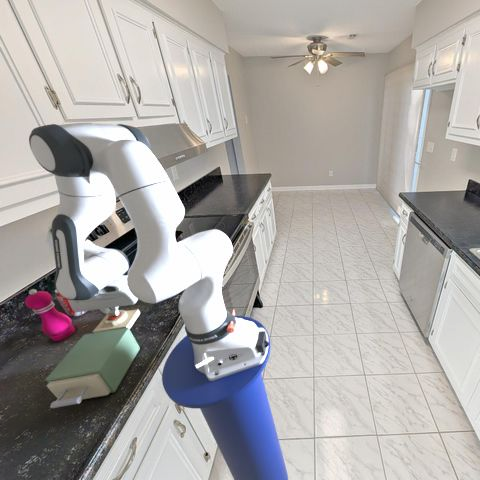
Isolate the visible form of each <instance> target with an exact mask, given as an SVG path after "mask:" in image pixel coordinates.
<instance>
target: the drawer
mask: <svg viewBox="0 0 480 480" xmlns="http://www.w3.org/2000/svg"><path fill="white" fill-rule="evenodd" d="M46 388H47V389H48V390H49V391H50V392H51V393H52V395H54V396H55V397H56V400H54V401H53V400H52V402H51V403H50V407H49V408H50V409H57V408H63V407H68V406H74V405H79V404H80V403H82V401H83V400H87V399H92V398H93V399H94V398H99V397H104V396H108V395H110V394H111V393H110V391H111V390H110V389H109V387H108V386H107V385H106V383H105V382H104V380H103V379H102V378H101V376H100V375H99V374H98V373H95V374H90V375H84V376H78V377H72V378H66V379H61V380H56V381H50V382H49V383H48V382H47V384H46Z"/></svg>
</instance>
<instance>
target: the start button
mask: <svg viewBox="0 0 480 480" xmlns="http://www.w3.org/2000/svg"><path fill="white" fill-rule="evenodd" d="M120 315H121V314H120V313H119V315H118V316H113V317H108V319H109V321H110V320H114V319H117V318H118V317H120Z"/></svg>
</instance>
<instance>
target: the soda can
mask: <svg viewBox="0 0 480 480" xmlns="http://www.w3.org/2000/svg"><path fill="white" fill-rule="evenodd" d="M54 292H55V294H54V295H55V298H56V300H57V302H58V303H59V305H60V306H61V307H62V309H63V310H64V312H65V314H66V315H67V316H68V317H72V318H73V317H79V316H82V315H85V314H86V313H87V312H88V311H84V312H75V311H73V310H72V308H71V306H70V304H69V301H68V299H66V298H64V297H62V296H61V295H60V294H59V293H58V291H57V290H56V289H55V290H54Z"/></svg>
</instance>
